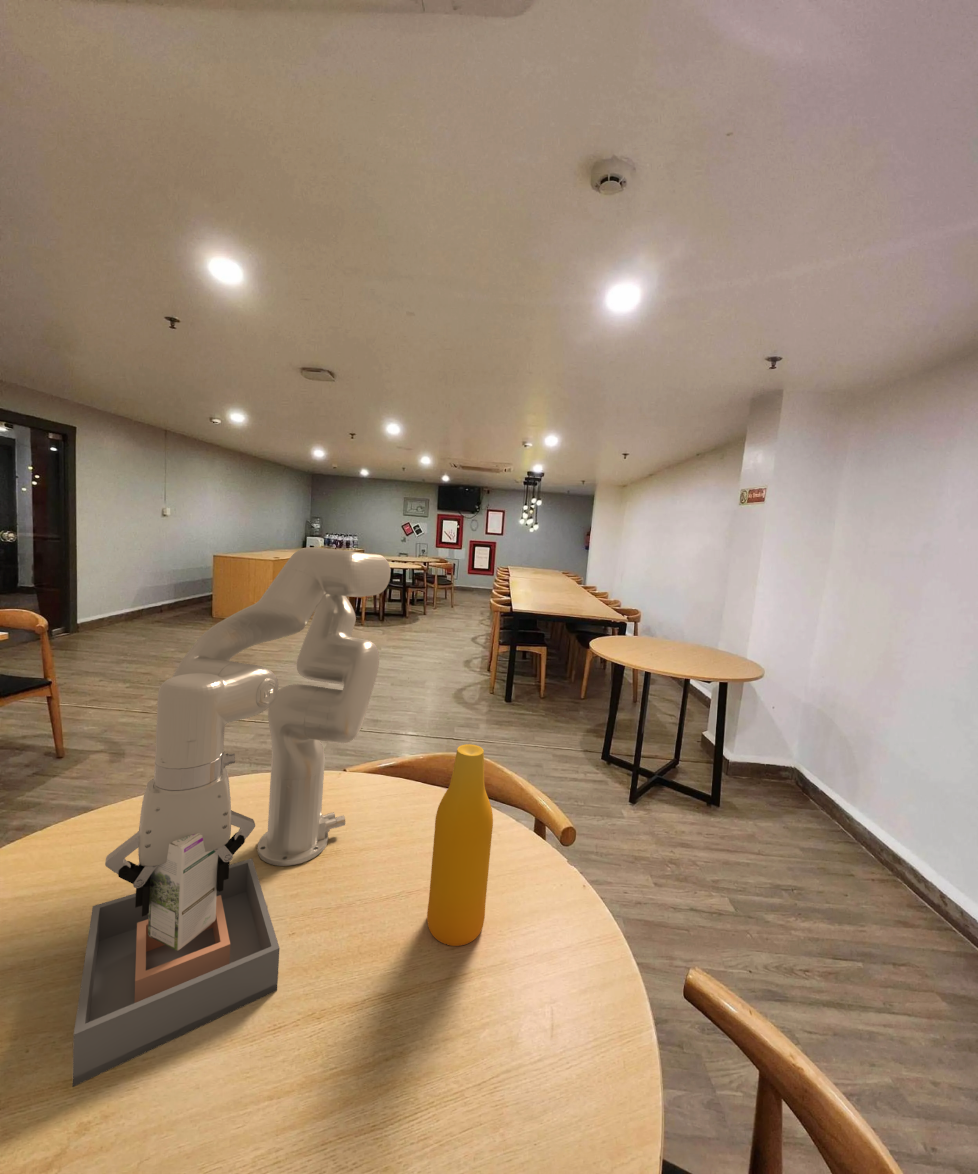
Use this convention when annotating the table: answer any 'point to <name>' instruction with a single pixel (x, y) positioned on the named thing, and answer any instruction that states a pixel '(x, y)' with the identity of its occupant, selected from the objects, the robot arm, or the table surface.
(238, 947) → the walled box
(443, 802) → the beer bottle
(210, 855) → the syrup box
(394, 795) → the table surface
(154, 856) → the robot arm
